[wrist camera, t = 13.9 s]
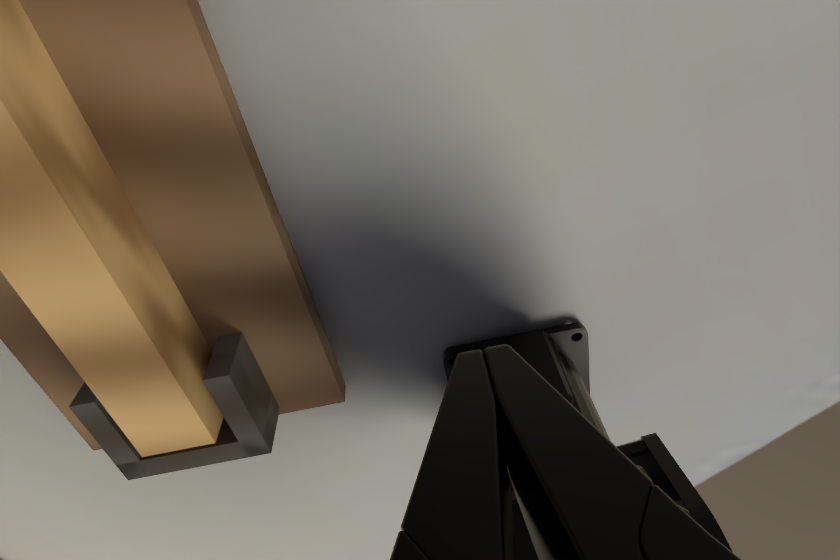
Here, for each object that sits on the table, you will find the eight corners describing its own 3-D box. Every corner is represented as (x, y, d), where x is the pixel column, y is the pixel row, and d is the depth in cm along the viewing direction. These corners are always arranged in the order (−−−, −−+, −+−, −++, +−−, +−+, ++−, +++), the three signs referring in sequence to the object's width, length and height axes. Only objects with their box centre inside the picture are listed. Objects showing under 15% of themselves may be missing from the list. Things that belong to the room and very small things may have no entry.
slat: (232, 387, 24) (215, 442, 21) (166, 400, 24) (142, 457, 21) (-173, -346, 11) (-326, -420, 9) (-302, -309, 11) (-490, -374, 9)
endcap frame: (345, 385, 25) (341, 445, 22) (102, 433, 26) (68, 498, 23) (-3, -518, 11) (-140, -678, 8) (-532, -364, 11) (-840, -461, 9)
